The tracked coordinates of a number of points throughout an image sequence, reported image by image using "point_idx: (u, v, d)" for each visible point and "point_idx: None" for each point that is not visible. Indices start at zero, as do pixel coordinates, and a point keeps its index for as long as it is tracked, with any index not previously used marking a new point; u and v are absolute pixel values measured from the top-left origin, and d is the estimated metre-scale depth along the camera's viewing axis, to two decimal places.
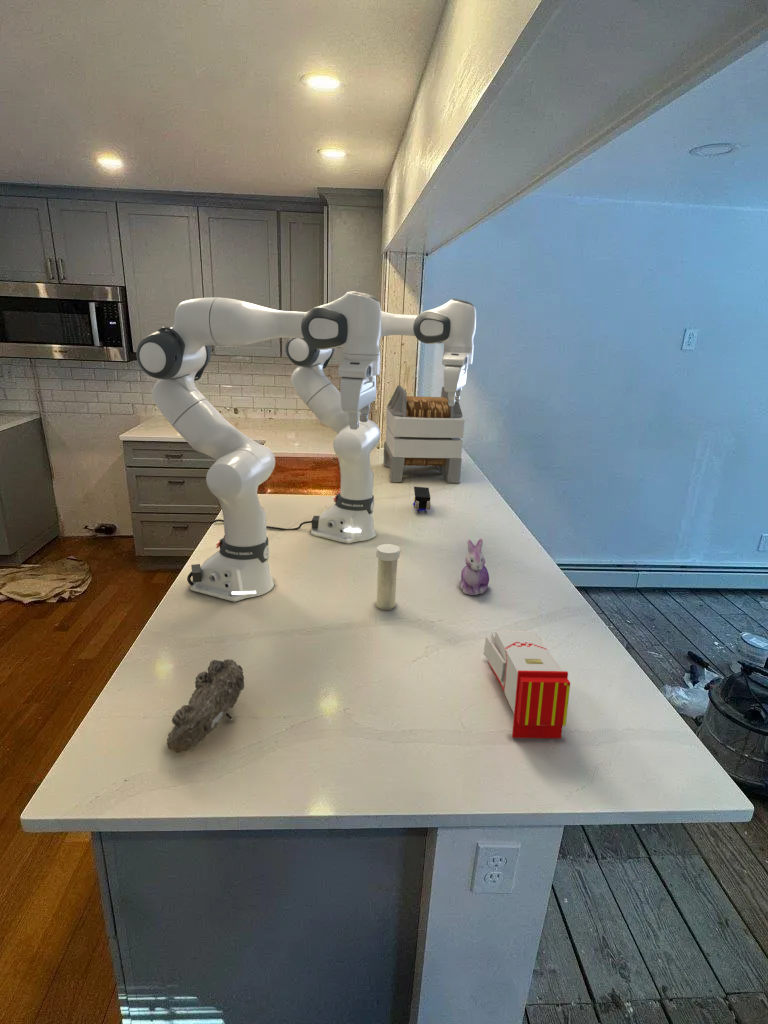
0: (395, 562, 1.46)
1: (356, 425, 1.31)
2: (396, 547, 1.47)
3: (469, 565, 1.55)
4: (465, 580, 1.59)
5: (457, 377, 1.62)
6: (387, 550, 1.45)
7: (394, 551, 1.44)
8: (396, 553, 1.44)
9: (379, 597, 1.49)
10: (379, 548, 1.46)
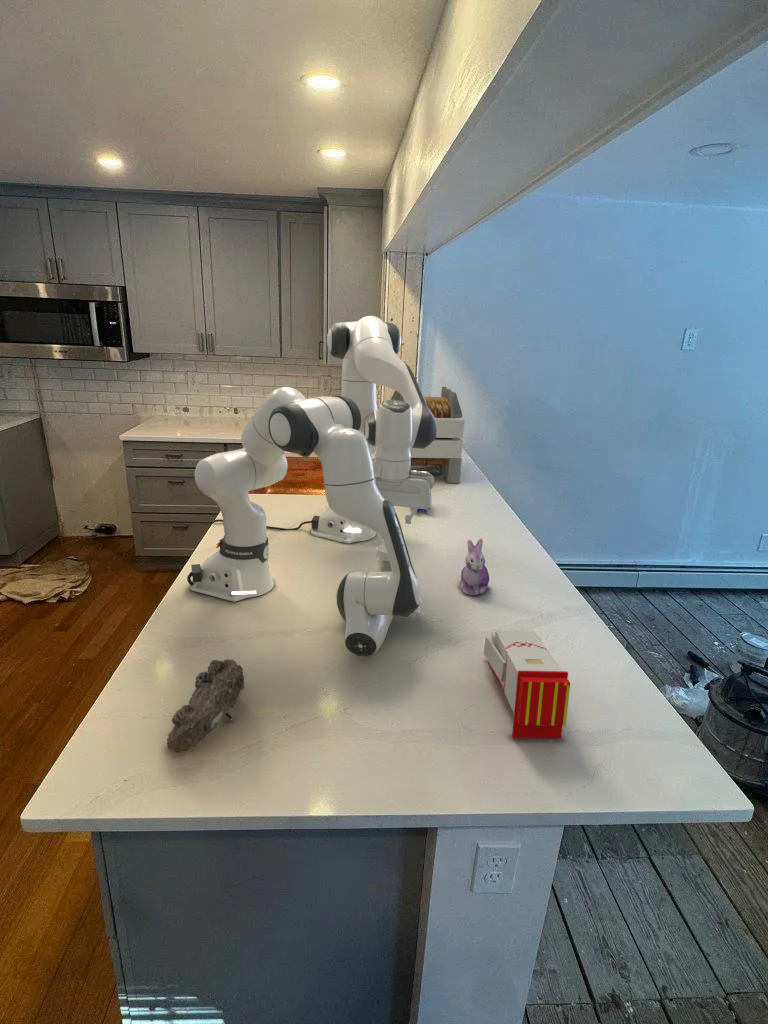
0: None
1: None
2: None
3: (469, 565, 1.55)
4: (465, 580, 1.59)
5: None
6: None
7: None
8: None
9: None
10: (379, 548, 1.46)
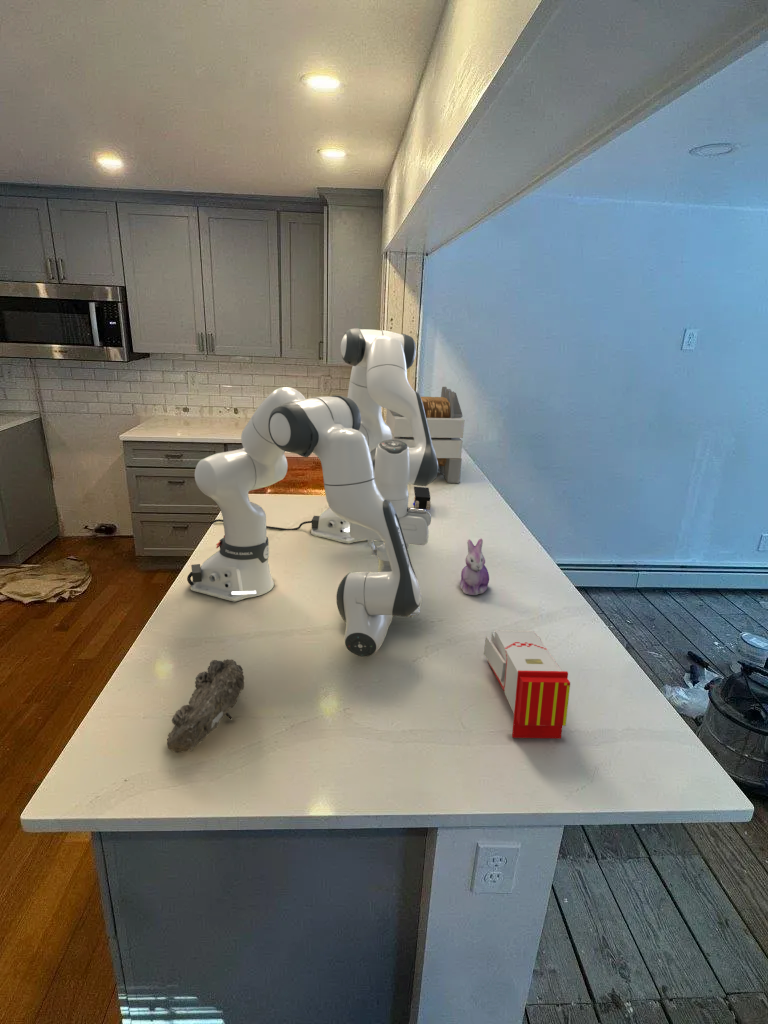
0: None
1: None
2: None
3: (469, 565, 1.55)
4: (465, 580, 1.59)
5: (350, 522, 1.44)
6: None
7: None
8: None
9: None
10: (379, 548, 1.46)
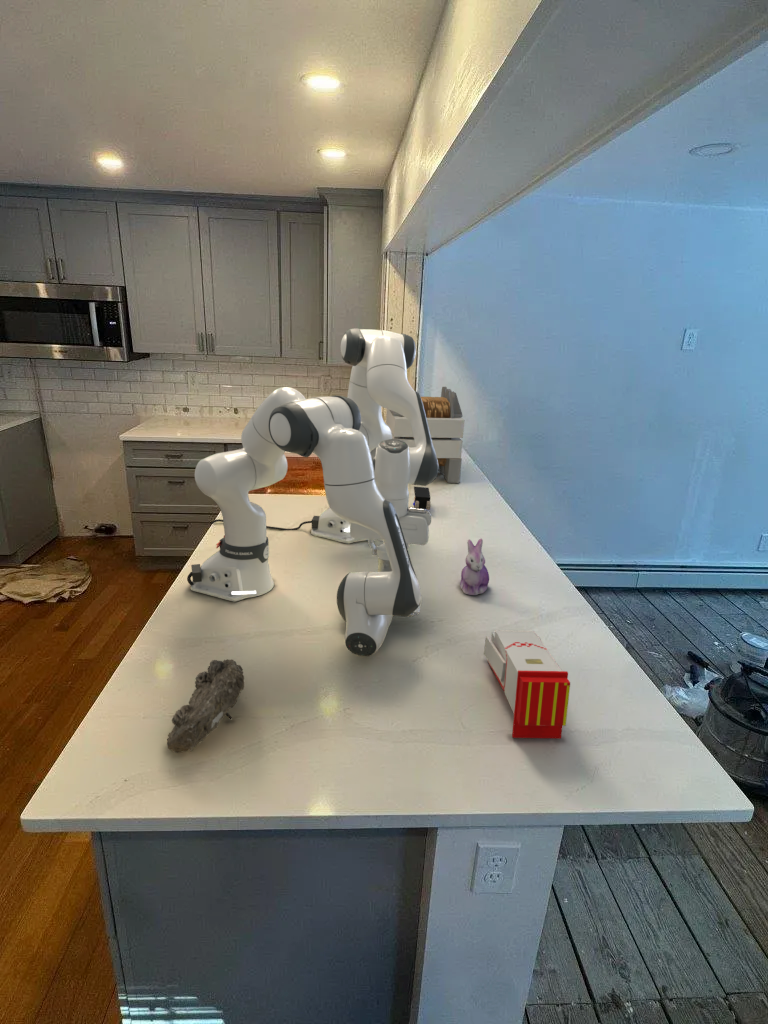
0: None
1: None
2: (384, 544, 1.48)
3: (469, 565, 1.55)
4: (465, 580, 1.59)
5: None
6: None
7: None
8: None
9: None
10: None
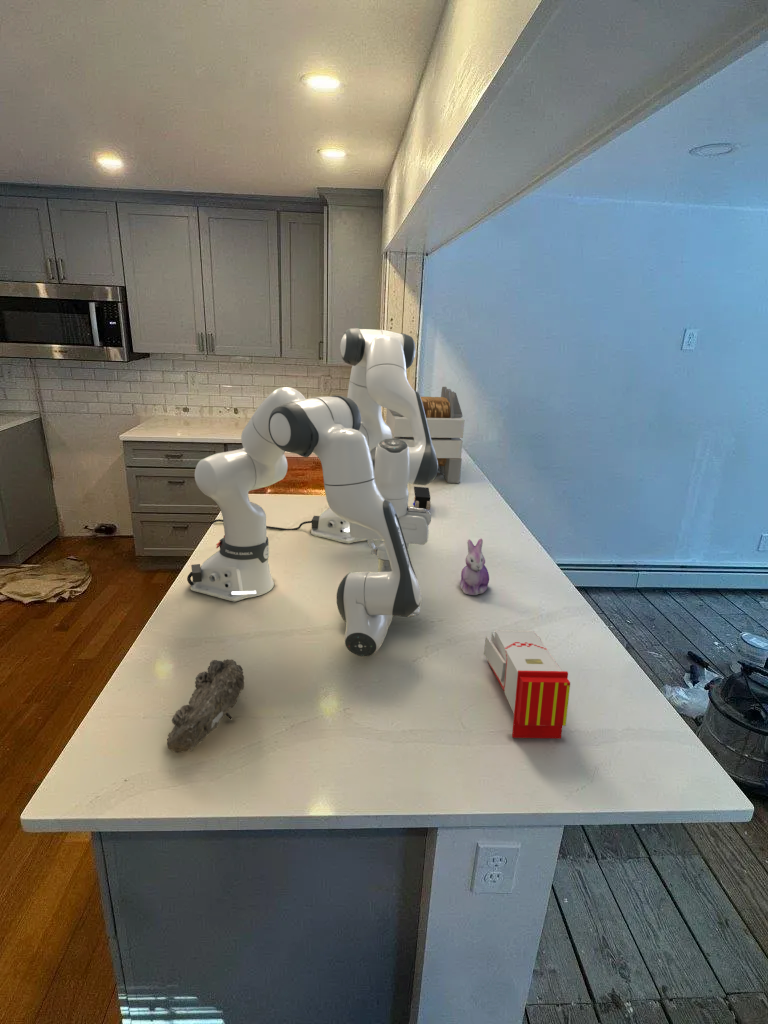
0: None
1: None
2: (381, 549, 1.45)
3: (469, 565, 1.55)
4: (465, 580, 1.59)
5: None
6: None
7: (381, 545, 1.47)
8: None
9: None
10: None
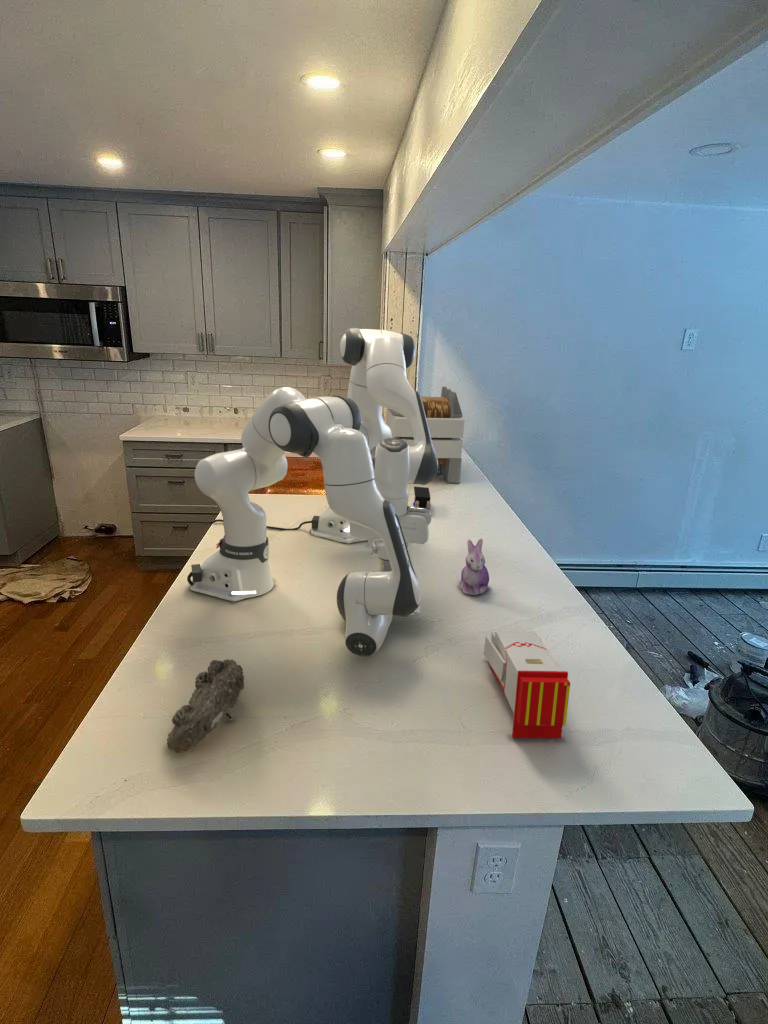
0: None
1: None
2: None
3: (469, 565, 1.55)
4: (465, 580, 1.59)
5: None
6: (383, 547, 1.46)
7: (383, 549, 1.44)
8: (383, 552, 1.44)
9: None
10: None
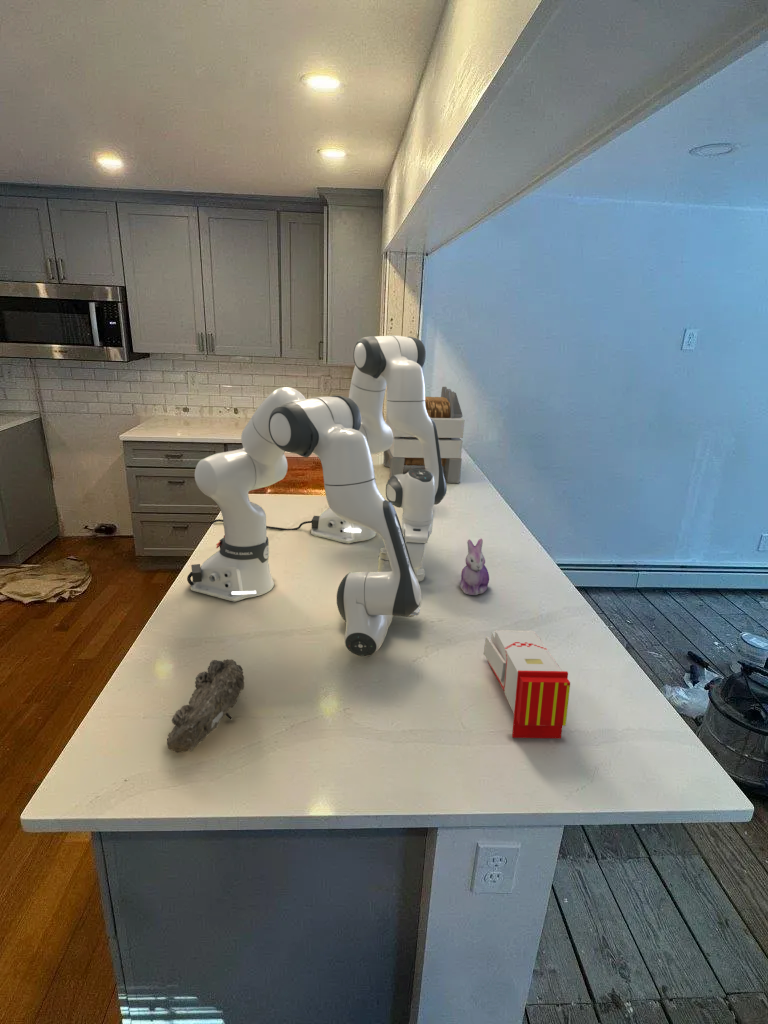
0: None
1: None
2: None
3: (469, 565, 1.55)
4: (465, 580, 1.59)
5: (421, 555, 1.55)
6: None
7: (421, 572, 1.66)
8: (423, 573, 1.66)
9: None
10: None
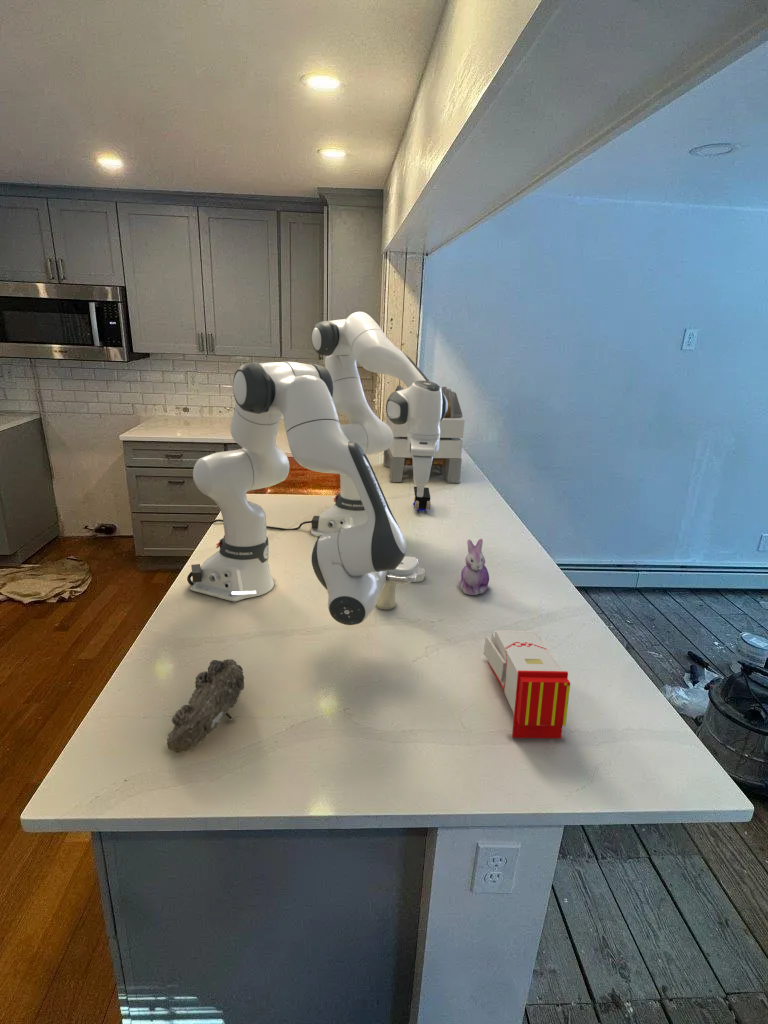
0: None
1: None
2: (419, 568, 1.69)
3: (469, 565, 1.55)
4: (465, 580, 1.59)
5: (428, 469, 1.47)
6: None
7: (421, 572, 1.66)
8: (423, 573, 1.66)
9: (379, 597, 1.49)
10: None
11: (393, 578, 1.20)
